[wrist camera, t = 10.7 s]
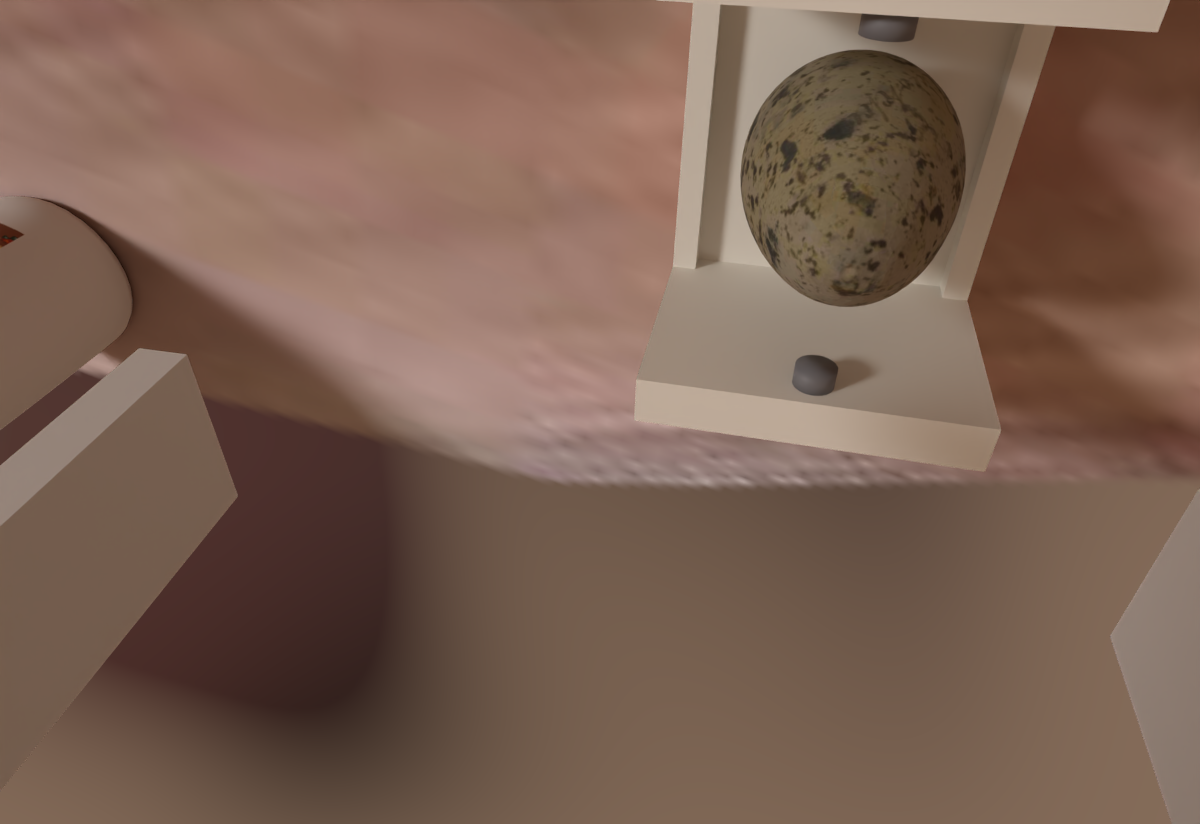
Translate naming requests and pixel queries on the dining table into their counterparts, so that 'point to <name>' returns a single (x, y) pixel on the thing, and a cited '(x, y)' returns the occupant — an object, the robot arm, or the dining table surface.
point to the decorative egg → (853, 176)
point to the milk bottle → (52, 299)
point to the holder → (816, 330)
